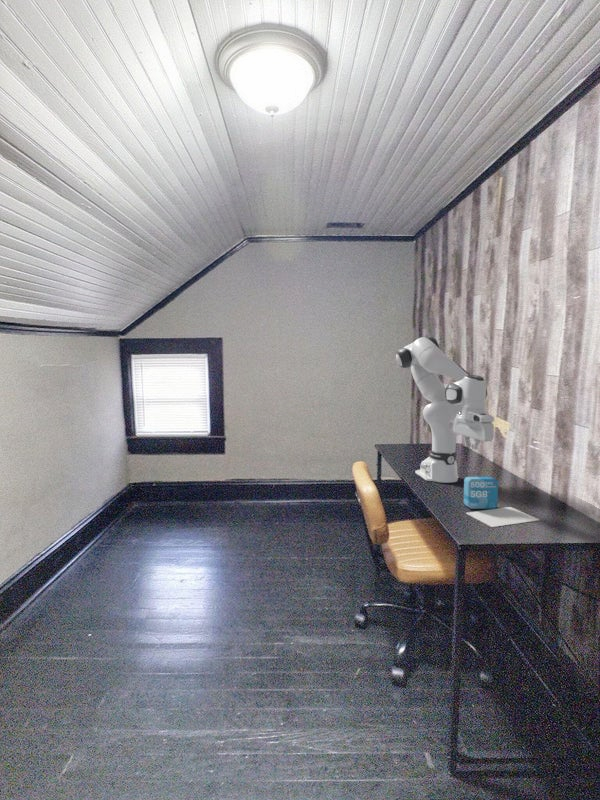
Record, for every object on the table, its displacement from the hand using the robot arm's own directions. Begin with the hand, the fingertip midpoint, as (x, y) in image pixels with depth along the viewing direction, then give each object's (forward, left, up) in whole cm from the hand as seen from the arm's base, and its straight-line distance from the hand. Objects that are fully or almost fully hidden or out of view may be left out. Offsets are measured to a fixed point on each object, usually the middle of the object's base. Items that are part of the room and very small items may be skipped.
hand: (471, 447), depth 176 cm
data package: (+7, 0, -23) cm, 24 cm away
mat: (+18, +1, -23) cm, 29 cm away
